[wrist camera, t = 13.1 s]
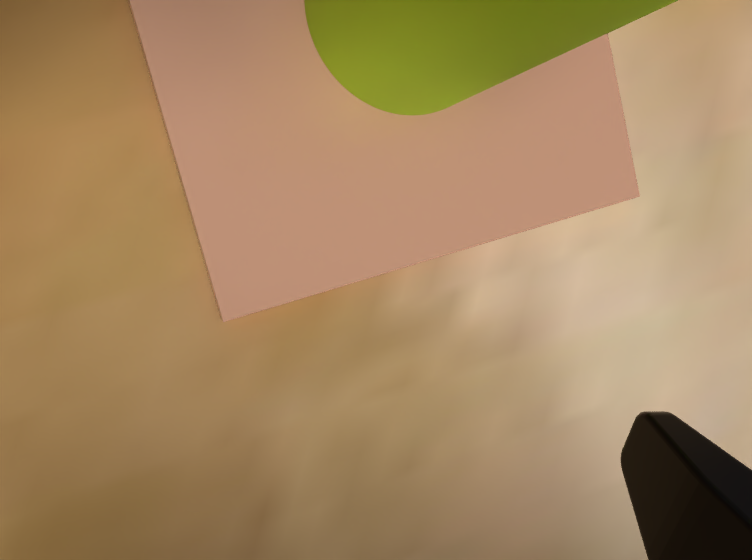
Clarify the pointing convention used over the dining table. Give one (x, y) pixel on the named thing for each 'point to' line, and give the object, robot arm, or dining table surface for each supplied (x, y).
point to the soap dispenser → (452, 43)
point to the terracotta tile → (362, 153)
